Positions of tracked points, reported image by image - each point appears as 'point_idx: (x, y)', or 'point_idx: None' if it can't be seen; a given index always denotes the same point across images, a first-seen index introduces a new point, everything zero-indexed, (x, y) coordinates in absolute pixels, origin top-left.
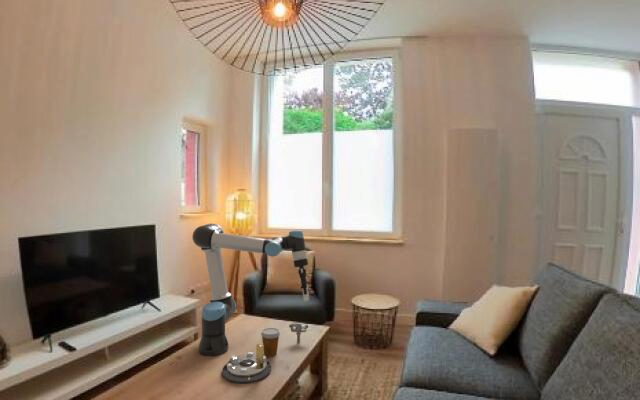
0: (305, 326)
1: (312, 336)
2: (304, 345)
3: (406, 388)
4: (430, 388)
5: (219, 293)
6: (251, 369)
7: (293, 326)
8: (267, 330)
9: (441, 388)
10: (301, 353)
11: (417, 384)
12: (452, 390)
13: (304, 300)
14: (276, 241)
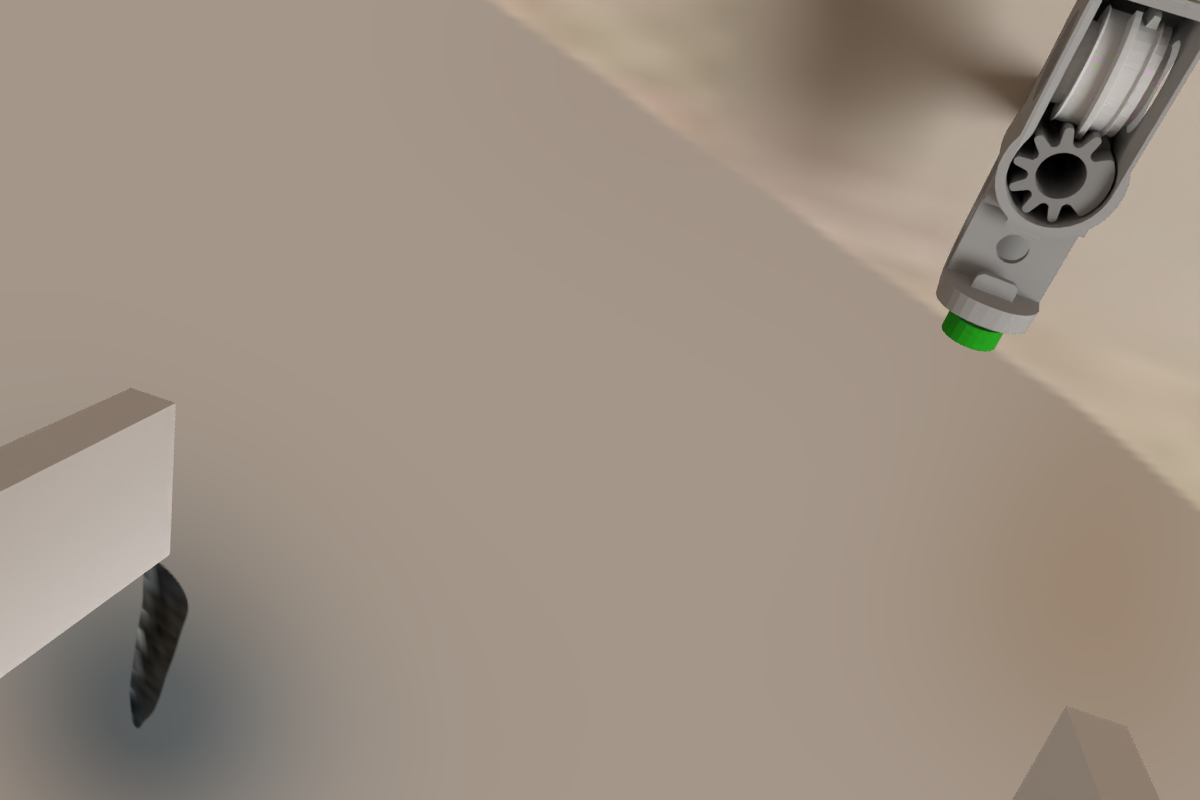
0: (949, 285)
1: (1192, 383)
2: (906, 165)
3: None
4: (149, 638)
5: None
6: None
7: (1075, 45)
8: None
9: (155, 674)
10: (672, 54)
11: (175, 616)
12: (146, 696)
13: (114, 411)
14: None
